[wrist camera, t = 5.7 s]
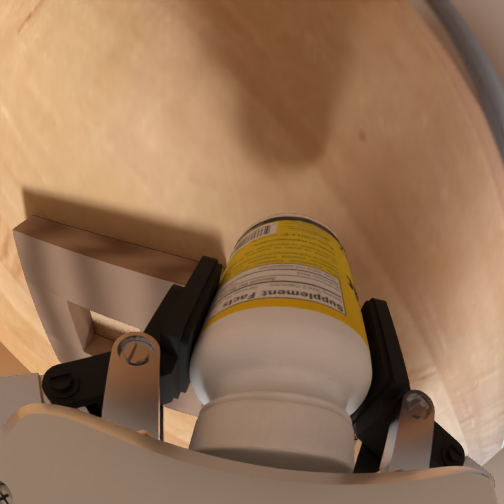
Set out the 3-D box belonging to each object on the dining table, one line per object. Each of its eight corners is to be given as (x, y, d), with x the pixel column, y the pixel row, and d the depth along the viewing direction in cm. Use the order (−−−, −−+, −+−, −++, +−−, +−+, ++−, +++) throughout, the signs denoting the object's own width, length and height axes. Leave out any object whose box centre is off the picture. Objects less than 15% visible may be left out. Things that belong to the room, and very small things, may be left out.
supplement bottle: (329, 314, 15) (332, 499, 6) (229, 296, 15) (167, 474, 7) (361, 222, 12) (432, 438, 4) (240, 198, 12) (131, 400, 4)
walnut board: (227, 269, 21) (218, 295, 19) (205, 397, 32) (199, 417, 29) (32, 215, 21) (12, 229, 19) (69, 346, 32) (59, 361, 29)
